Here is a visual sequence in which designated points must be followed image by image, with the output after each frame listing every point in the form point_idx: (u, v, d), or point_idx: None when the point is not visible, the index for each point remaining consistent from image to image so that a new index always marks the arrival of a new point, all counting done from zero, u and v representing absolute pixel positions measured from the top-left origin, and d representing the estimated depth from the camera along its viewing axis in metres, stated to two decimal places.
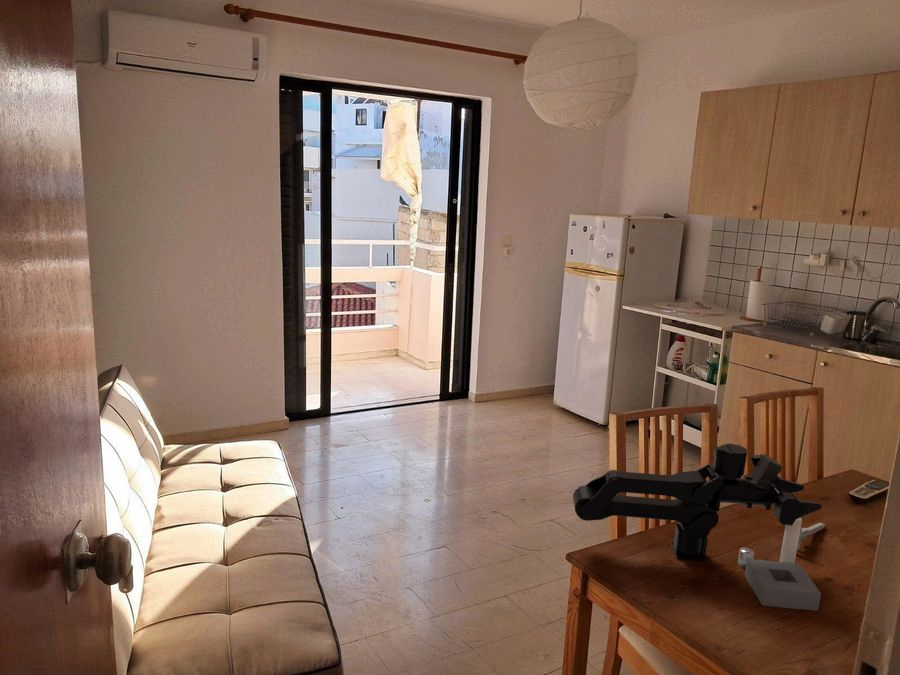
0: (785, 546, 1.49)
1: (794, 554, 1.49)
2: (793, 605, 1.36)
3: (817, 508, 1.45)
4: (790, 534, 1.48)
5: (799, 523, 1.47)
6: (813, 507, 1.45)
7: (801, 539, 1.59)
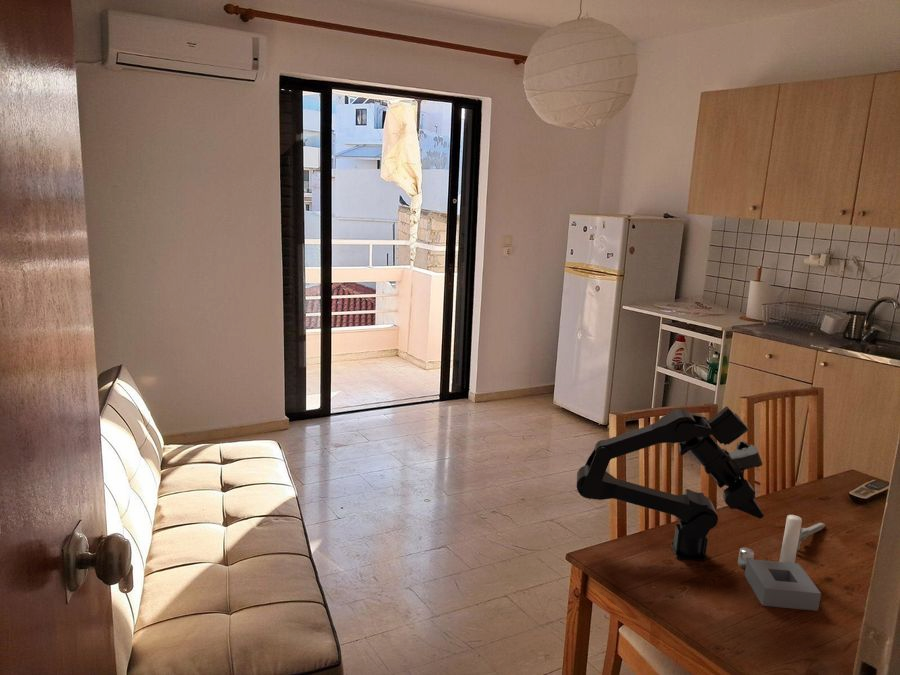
0: (785, 546, 1.49)
1: (794, 554, 1.49)
2: (793, 605, 1.36)
3: (758, 516, 1.45)
4: (790, 534, 1.48)
5: (799, 523, 1.47)
6: (756, 512, 1.45)
7: (801, 539, 1.59)
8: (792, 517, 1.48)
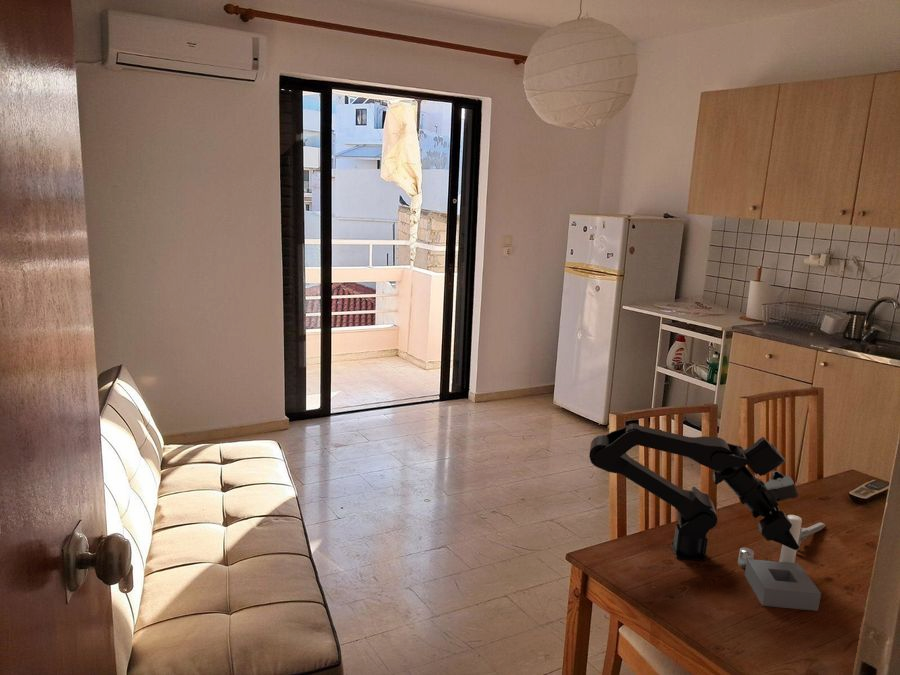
0: (785, 546, 1.49)
1: (794, 554, 1.49)
2: (793, 605, 1.36)
3: (793, 547, 1.45)
4: None
5: (799, 523, 1.47)
6: (792, 543, 1.44)
7: (801, 539, 1.59)
8: (792, 517, 1.48)
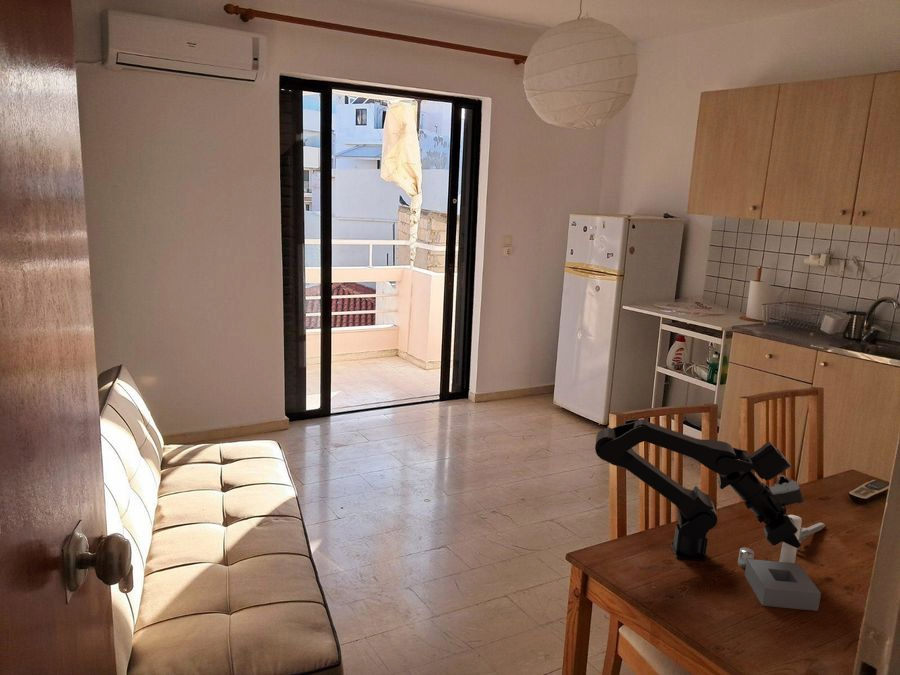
0: (785, 546, 1.49)
1: (794, 554, 1.49)
2: (793, 605, 1.36)
3: (795, 545, 1.47)
4: None
5: (799, 523, 1.47)
6: (794, 542, 1.47)
7: (801, 539, 1.59)
8: (792, 517, 1.48)
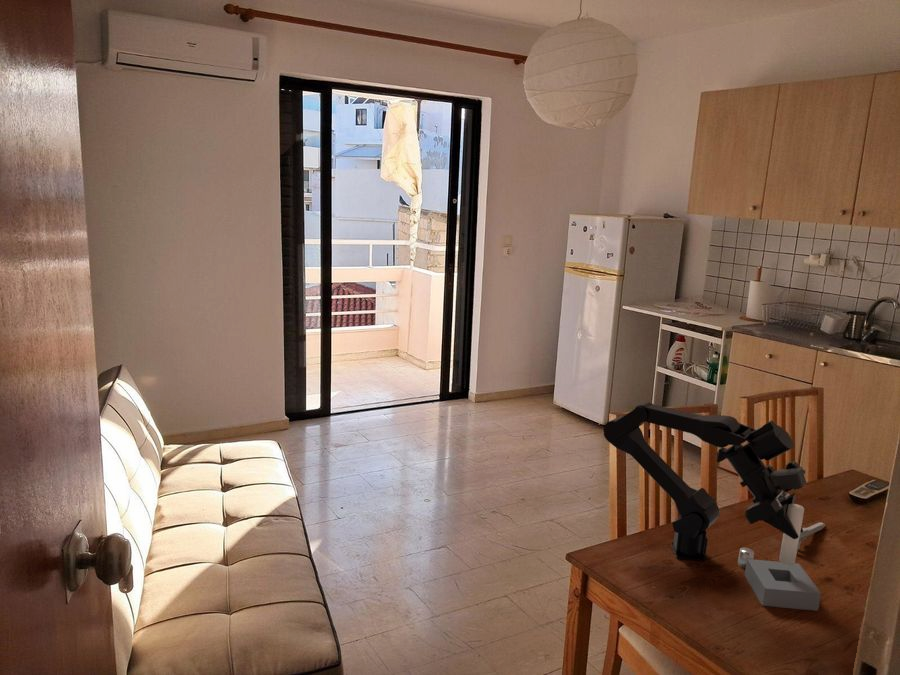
0: (784, 535, 1.40)
1: (793, 546, 1.39)
2: (793, 605, 1.36)
3: (791, 535, 1.38)
4: None
5: (798, 512, 1.37)
6: (789, 531, 1.37)
7: (801, 539, 1.59)
8: (793, 506, 1.38)
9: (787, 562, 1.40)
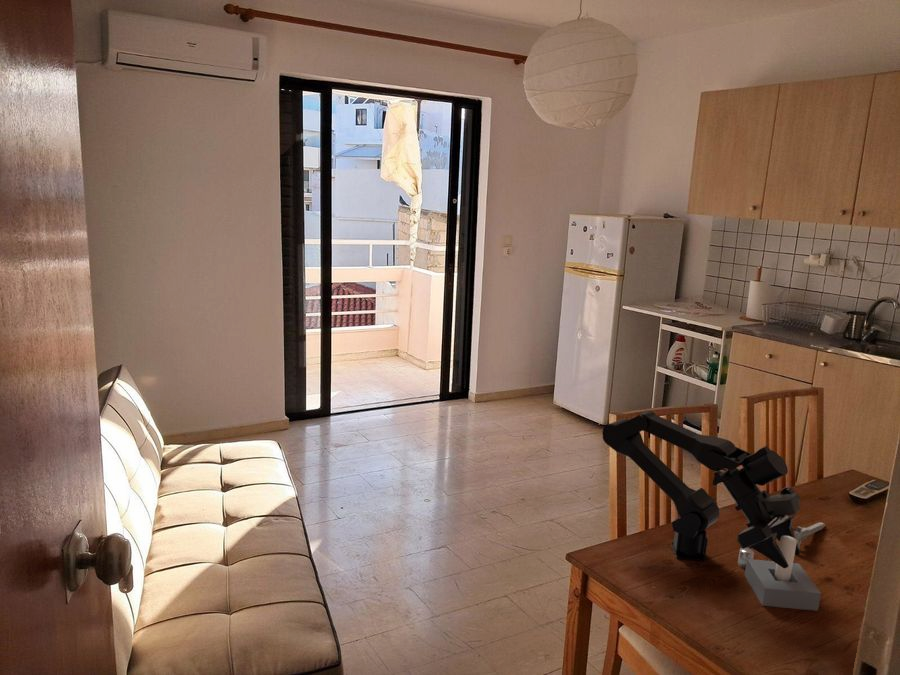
0: (776, 567, 1.41)
1: (785, 578, 1.39)
2: (793, 605, 1.36)
3: (781, 564, 1.37)
4: None
5: (790, 545, 1.38)
6: (779, 560, 1.37)
7: (801, 539, 1.59)
8: (786, 538, 1.39)
9: None
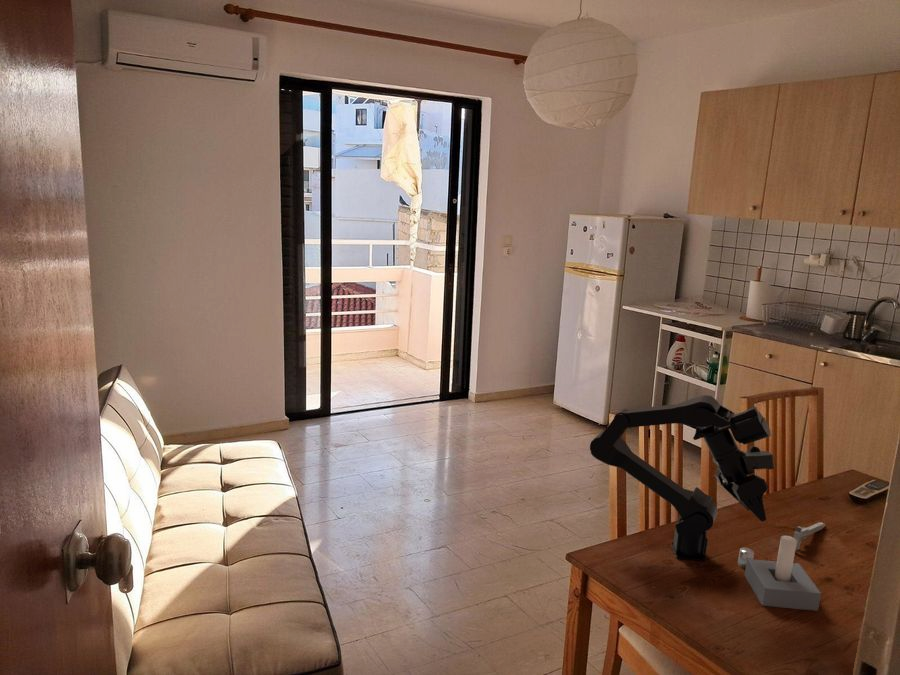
0: (776, 567, 1.41)
1: (785, 578, 1.39)
2: (793, 605, 1.36)
3: (761, 518, 1.42)
4: (780, 554, 1.39)
5: (790, 545, 1.38)
6: (760, 513, 1.41)
7: (801, 539, 1.59)
8: (786, 538, 1.39)
9: None
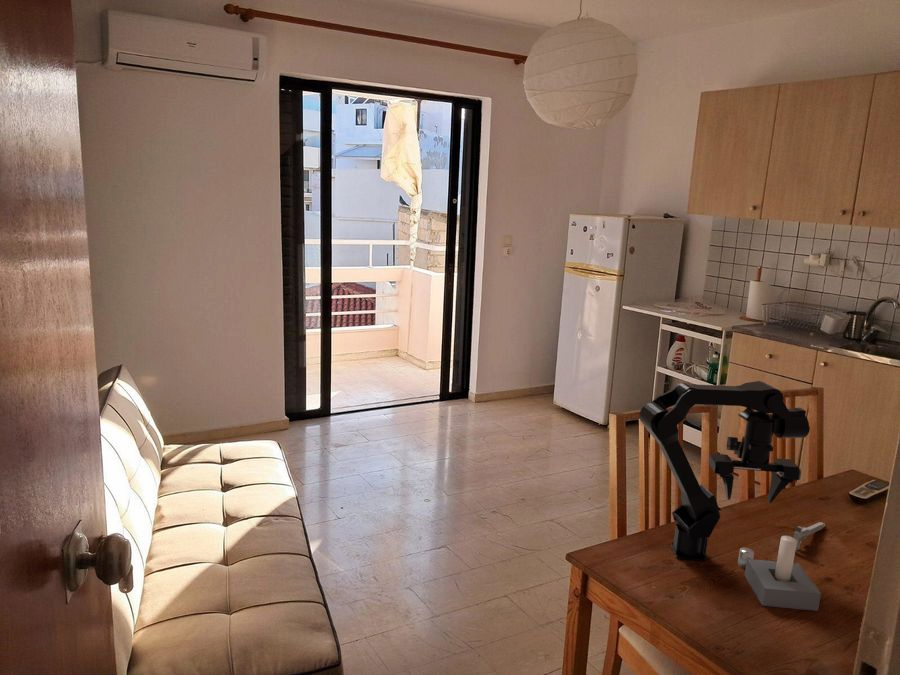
0: (776, 567, 1.41)
1: (785, 578, 1.39)
2: (793, 605, 1.36)
3: None
4: (781, 555, 1.39)
5: (790, 545, 1.38)
6: None
7: (801, 539, 1.59)
8: (786, 538, 1.39)
9: None
